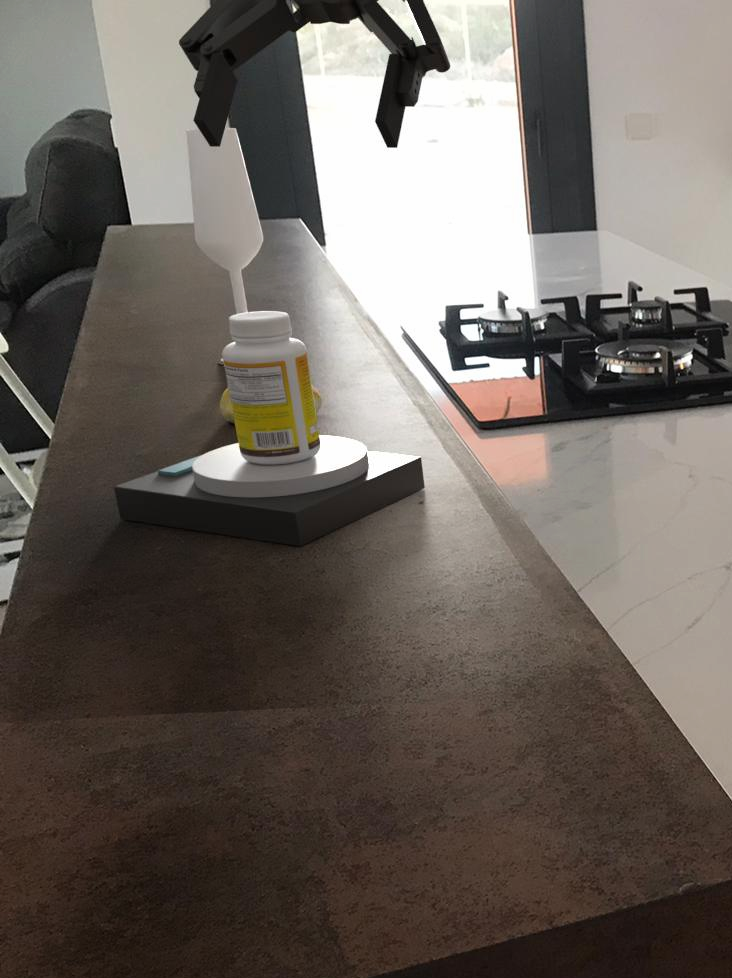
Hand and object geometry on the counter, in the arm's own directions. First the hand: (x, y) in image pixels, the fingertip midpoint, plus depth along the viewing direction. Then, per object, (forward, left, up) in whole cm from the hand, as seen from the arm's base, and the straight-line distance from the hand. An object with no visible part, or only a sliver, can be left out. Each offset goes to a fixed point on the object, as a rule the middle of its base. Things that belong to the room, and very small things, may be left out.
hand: (296, 134), depth 95 cm
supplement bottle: (+3, -10, -22) cm, 24 cm away
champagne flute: (-36, +29, -26) cm, 53 cm away
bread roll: (-16, +10, -26) cm, 32 cm away
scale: (+2, -10, -25) cm, 27 cm away
